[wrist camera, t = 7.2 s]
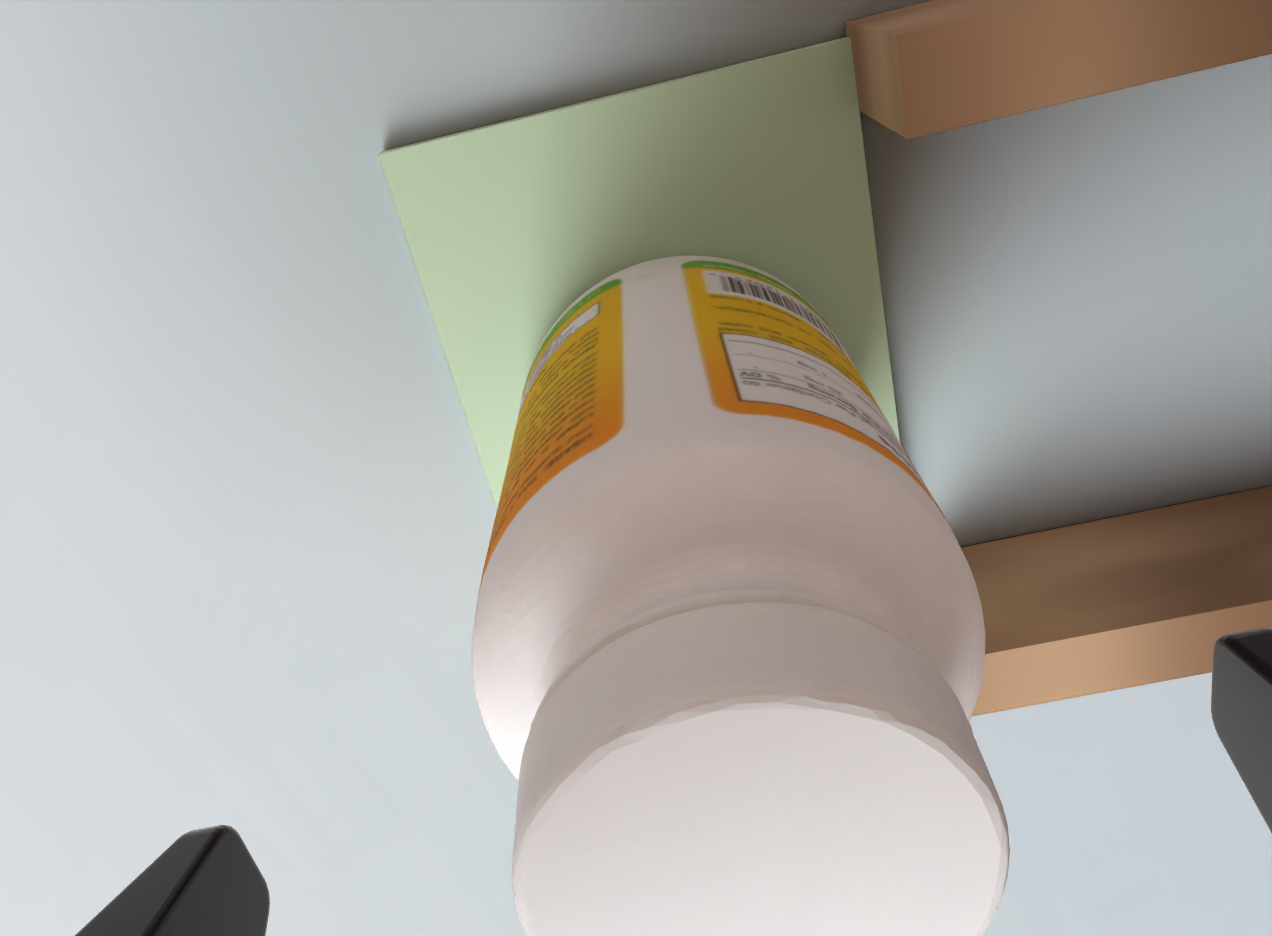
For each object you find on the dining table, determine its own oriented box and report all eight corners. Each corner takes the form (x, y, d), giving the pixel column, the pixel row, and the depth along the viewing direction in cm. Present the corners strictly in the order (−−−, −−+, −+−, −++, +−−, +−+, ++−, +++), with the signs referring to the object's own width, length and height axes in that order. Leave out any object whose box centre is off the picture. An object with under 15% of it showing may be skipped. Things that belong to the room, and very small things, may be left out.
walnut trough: (1585, -162, 13) (1827, -195, 11) (1473, 501, 18) (1624, 596, 15) (844, 21, 14) (895, 34, 12) (917, 610, 19) (967, 717, 16)
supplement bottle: (569, 574, 18) (524, 1141, 9) (483, 291, 16) (313, 695, 7) (867, 514, 18) (1113, 1052, 9) (824, 212, 15) (1103, 540, 6)
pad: (846, 36, 14) (850, 38, 14) (916, 601, 19) (920, 610, 18) (382, 151, 15) (377, 154, 15) (555, 672, 19) (554, 682, 19)
